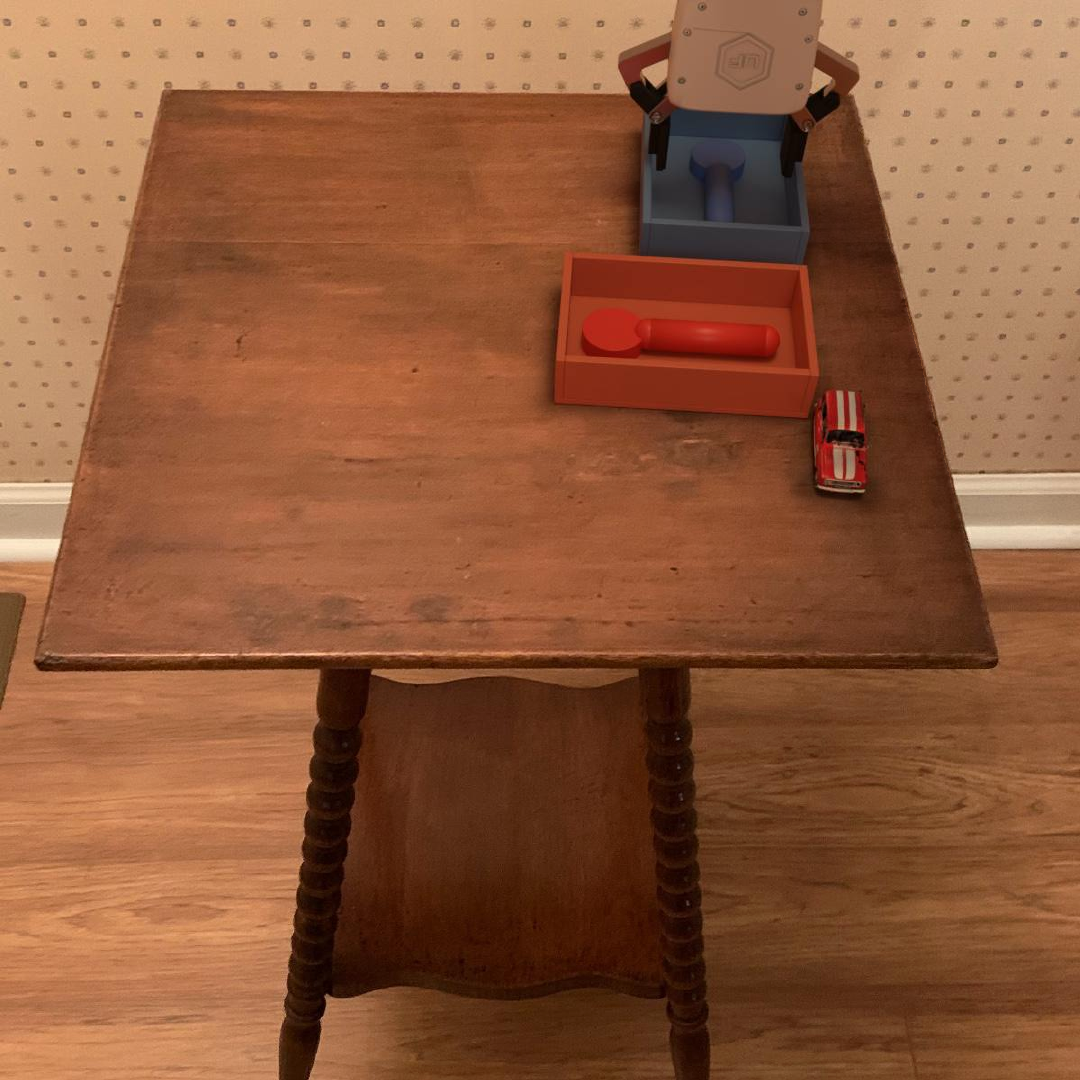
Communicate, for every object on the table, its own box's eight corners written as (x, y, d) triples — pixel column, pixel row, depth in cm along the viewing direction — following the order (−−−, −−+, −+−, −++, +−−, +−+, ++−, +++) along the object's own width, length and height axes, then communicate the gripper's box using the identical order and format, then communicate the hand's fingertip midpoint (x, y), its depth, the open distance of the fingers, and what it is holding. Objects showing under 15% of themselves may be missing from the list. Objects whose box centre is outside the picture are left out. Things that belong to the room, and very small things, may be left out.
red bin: (796, 308, 87) (807, 264, 84) (807, 418, 80) (819, 375, 77) (563, 294, 88) (564, 251, 85) (554, 403, 81) (555, 360, 78)
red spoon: (775, 332, 85) (780, 308, 83) (778, 375, 82) (784, 351, 81) (582, 321, 85) (584, 297, 84) (579, 363, 83) (581, 339, 81)
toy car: (811, 496, 76) (822, 463, 74) (809, 407, 81) (818, 373, 79) (868, 502, 76) (880, 469, 73) (862, 412, 81) (873, 378, 78)
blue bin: (785, 142, 100) (794, 99, 97) (799, 275, 90) (810, 231, 87) (641, 135, 101) (645, 92, 97) (638, 266, 90) (642, 222, 87)
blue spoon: (748, 261, 90) (752, 238, 88) (689, 258, 90) (693, 234, 88) (742, 154, 98) (746, 131, 97) (689, 151, 98) (692, 128, 97)
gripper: (626, -40, 76) (609, 187, 90) (897, -26, 76) (839, 200, 89) (628, -93, 81) (612, 130, 94) (884, -81, 80) (831, 142, 94)
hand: (722, 164), depth 92 cm, fingers open, 9 cm apart
